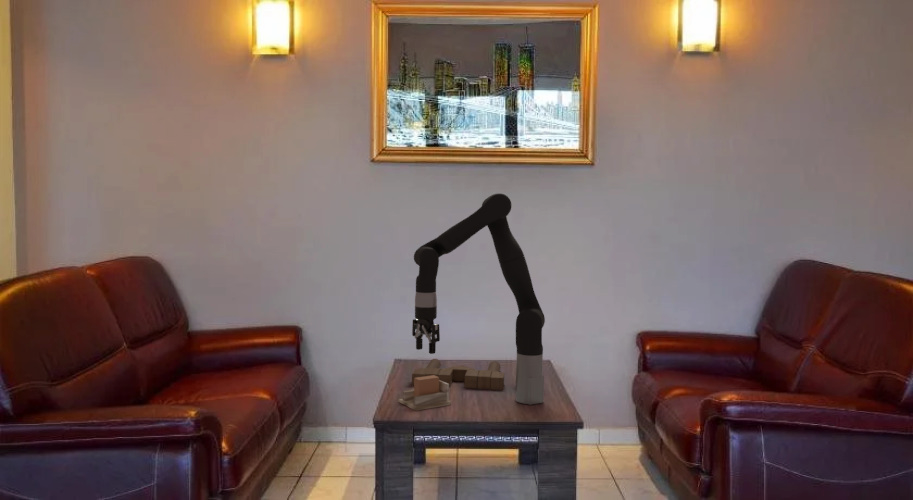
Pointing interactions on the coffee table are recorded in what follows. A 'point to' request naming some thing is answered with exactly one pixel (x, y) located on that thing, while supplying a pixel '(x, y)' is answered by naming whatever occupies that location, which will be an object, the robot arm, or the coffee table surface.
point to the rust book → (426, 385)
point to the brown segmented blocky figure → (464, 375)
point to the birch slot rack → (427, 398)
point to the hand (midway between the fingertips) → (425, 351)
